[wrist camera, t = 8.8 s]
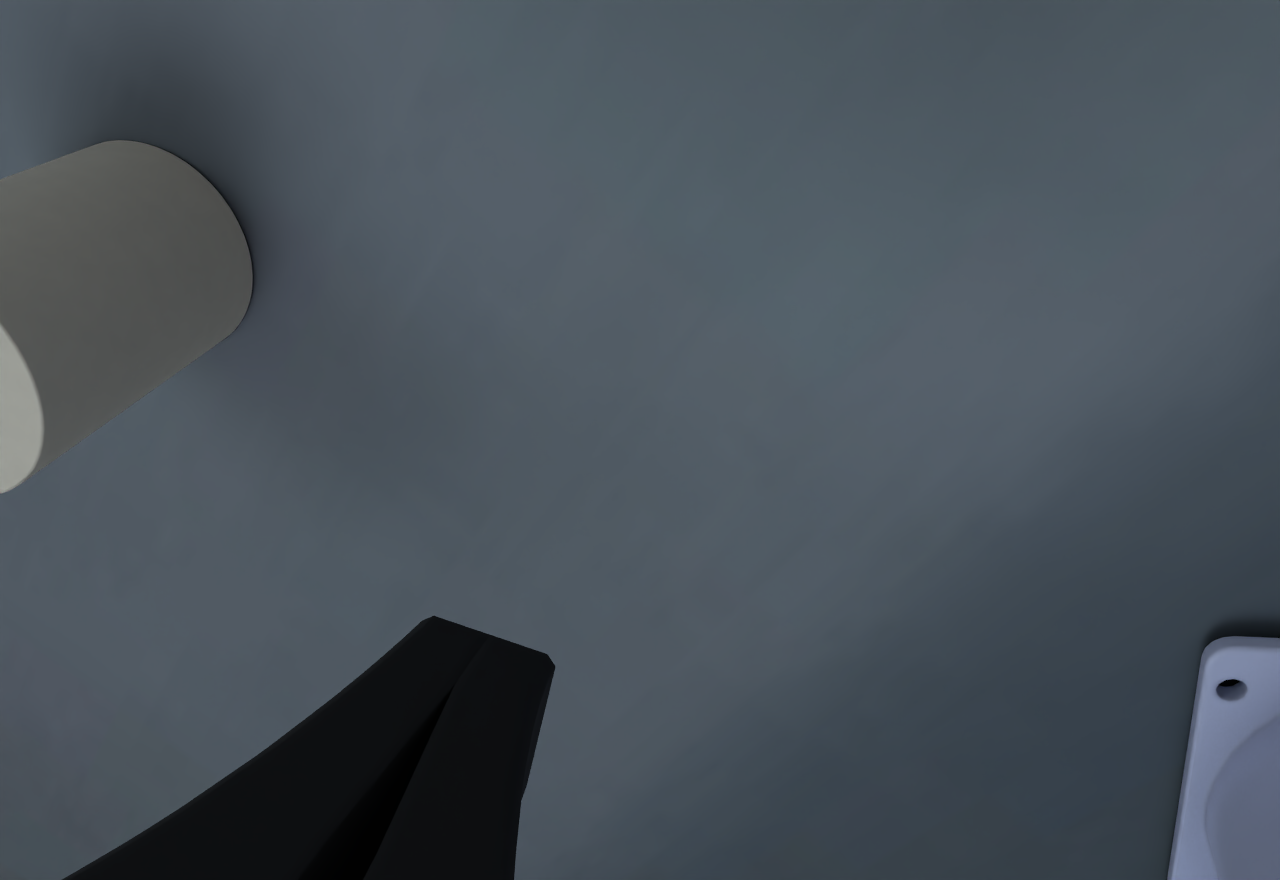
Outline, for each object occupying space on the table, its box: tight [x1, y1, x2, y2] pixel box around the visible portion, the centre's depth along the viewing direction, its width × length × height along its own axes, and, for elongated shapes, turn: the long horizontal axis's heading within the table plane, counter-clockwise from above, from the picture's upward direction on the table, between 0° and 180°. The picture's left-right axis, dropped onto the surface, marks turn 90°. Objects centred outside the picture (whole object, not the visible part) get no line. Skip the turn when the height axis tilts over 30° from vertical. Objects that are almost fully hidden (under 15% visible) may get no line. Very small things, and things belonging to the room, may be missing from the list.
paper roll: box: [0, 140, 253, 494], centre depth 19 cm, size 6×4×4 cm
